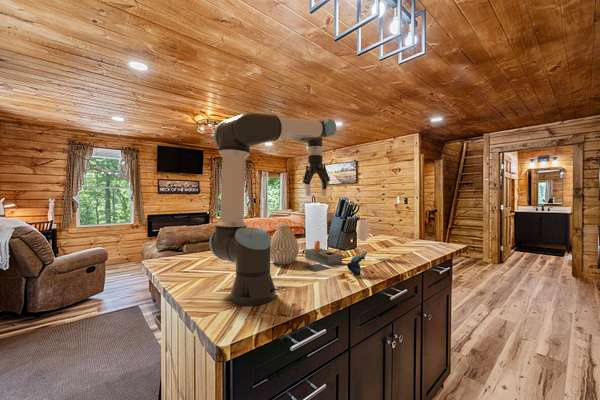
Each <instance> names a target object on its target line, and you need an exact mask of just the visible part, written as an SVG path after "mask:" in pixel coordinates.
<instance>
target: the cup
mask: <svg viewBox="0 0 600 400" xmlns="http://www.w3.org/2000/svg"><path fill="white" fill-rule="evenodd" d="M370 231H371V230H370V221H369V219H368V220H367V219H359V220H357V222H356V233H357V237H358V239H359V240H360V241H361V242H365V241H367V239H369V236H370Z"/></svg>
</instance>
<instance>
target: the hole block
mask: <svg viewBox="0 0 600 400" xmlns="http://www.w3.org/2000/svg"><path fill="white" fill-rule="evenodd" d="M305 259H307V260H310V261H313V262H316V263H317V264H320V265H323V266H326V267H331V266H335V265H340V264H341V265H342V264H343V254H342V253H340V252H339V253H338V252H335V251H332V250H328V249H325V248H321V247H320V251H314V248H308V249H305Z"/></svg>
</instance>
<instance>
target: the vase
mask: <svg viewBox="0 0 600 400" xmlns="http://www.w3.org/2000/svg"><path fill="white" fill-rule="evenodd" d="M270 242H271V243H270V261H272V262H273V263H274V264H276V265H281V266H282V265H285V266H286V265H290V264H293V262H295V260H296V259H297V258H298V255H299V249H300V248H299V242H298V240H297V238H296V236H295V234H294V233H293V232H292V230H291V229H290V226H289V224H287V223H282V224H278V225H277V227H276V230H275V231H274V233H273V234H272V236H271V238H270Z"/></svg>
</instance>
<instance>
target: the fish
mask: <svg viewBox="0 0 600 400" xmlns="http://www.w3.org/2000/svg"><path fill="white" fill-rule="evenodd" d="M367 253H368V251H363V252H361V253H360V254H354V256H352V258H351V260H350V262H347V263H346V266H347V269H348V270H349V272H351V273H352V274H354V275H356V276H358V275H360V274H361V273H362V272H361V271H362V270H361V265H360V262H362V261H363V260H364V261H366V257H367Z"/></svg>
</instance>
